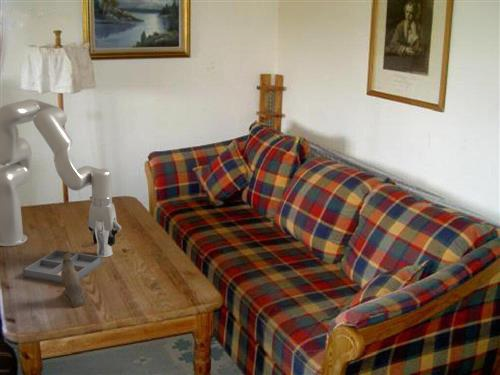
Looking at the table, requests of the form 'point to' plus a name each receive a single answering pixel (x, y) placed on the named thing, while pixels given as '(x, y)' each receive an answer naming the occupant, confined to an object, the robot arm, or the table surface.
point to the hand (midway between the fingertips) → (104, 243)
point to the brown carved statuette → (71, 283)
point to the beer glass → (102, 240)
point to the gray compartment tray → (52, 266)
